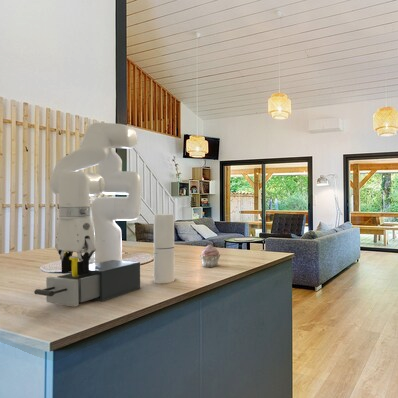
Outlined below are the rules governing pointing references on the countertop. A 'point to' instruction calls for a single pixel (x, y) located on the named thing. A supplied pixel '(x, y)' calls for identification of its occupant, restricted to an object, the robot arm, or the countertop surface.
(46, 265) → the countertop surface
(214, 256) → the cupcake
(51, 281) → the drawer
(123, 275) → the cabinet
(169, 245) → the cylindrical container
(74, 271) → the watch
